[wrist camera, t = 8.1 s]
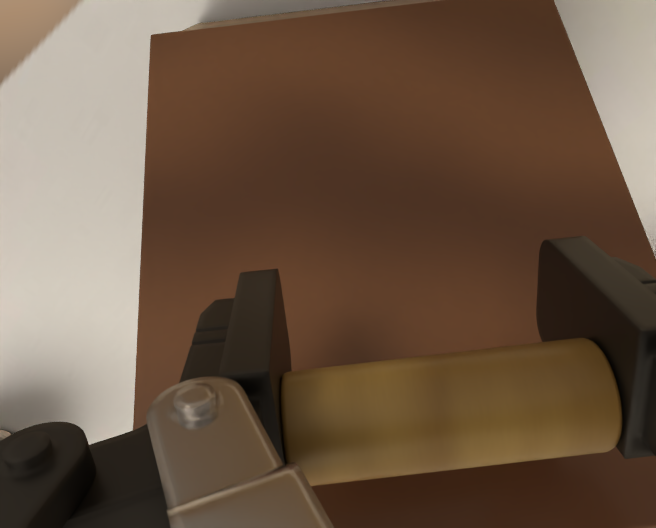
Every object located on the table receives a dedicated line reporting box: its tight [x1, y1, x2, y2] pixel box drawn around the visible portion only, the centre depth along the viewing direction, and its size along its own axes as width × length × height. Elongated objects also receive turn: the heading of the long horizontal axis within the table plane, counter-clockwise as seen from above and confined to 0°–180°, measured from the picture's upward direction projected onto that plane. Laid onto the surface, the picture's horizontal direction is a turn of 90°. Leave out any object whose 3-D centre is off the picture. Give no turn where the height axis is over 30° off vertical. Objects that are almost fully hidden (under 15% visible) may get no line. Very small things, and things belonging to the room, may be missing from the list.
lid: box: [133, 0, 656, 528], centre depth 14 cm, size 15×13×5 cm
